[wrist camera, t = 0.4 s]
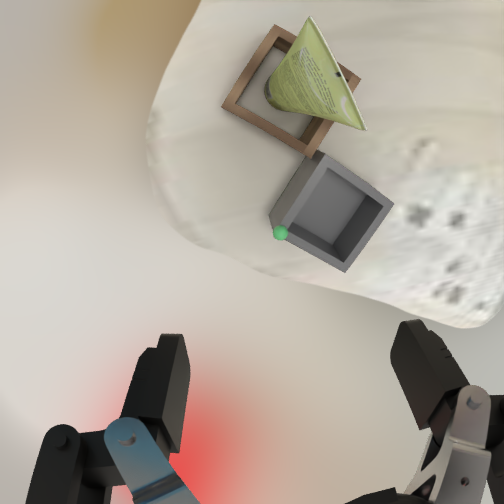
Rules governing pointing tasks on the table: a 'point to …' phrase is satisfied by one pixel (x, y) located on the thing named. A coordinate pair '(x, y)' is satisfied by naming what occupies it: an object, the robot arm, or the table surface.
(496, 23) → the table surface
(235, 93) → the brown wooden square frame
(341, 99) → the tube
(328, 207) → the socket block
